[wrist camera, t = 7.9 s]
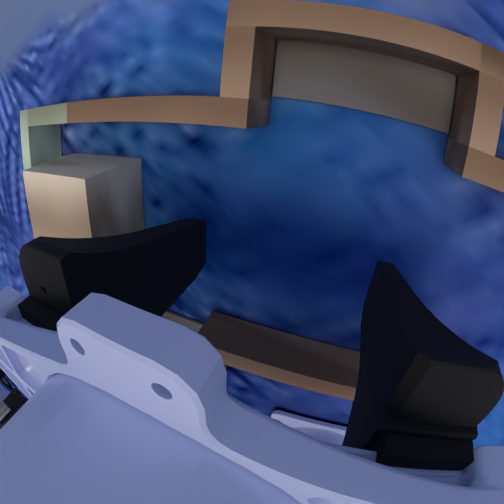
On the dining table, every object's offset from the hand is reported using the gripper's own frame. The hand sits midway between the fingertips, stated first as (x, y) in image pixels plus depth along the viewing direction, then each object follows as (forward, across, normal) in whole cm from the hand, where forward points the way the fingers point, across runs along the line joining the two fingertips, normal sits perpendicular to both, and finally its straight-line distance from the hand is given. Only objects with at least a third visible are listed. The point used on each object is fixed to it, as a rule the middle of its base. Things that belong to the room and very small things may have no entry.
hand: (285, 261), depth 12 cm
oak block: (+2, +11, 0) cm, 11 cm away
